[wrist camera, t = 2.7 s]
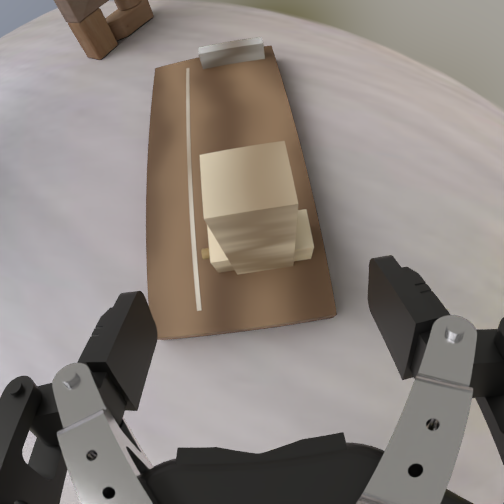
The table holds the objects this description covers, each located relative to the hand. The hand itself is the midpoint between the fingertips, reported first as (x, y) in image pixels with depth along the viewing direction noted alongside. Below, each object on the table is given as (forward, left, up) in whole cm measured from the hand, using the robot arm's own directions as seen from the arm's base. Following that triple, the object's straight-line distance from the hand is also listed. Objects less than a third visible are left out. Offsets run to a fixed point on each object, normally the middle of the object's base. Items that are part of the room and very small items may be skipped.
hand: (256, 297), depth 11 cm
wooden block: (-15, +40, -11) cm, 44 cm away
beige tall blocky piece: (0, +5, -9) cm, 10 cm away
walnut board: (-2, +13, -11) cm, 17 cm away
